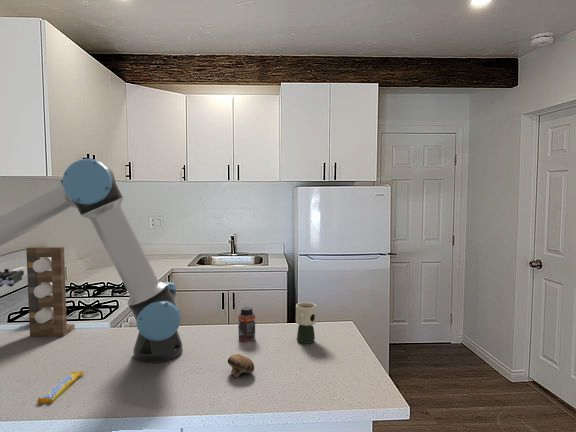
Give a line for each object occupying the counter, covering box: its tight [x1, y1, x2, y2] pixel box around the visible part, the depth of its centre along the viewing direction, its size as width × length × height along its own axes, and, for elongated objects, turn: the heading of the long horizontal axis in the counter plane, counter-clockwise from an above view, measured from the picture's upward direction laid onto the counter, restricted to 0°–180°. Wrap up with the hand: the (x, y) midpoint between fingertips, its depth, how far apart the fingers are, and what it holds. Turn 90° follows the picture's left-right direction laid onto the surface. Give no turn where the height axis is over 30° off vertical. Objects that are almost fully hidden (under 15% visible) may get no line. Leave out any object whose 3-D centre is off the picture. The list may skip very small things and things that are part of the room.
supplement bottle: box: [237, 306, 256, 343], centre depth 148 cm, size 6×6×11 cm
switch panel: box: [25, 246, 76, 338], centre depth 153 cm, size 9×12×32 cm
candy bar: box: [36, 370, 85, 405], centre depth 112 cm, size 17×4×2 cm, turn 179°
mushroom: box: [227, 353, 255, 379], centre depth 121 cm, size 8×8×6 cm
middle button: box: [34, 283, 52, 298], centre depth 150 cm, size 6×4×4 cm
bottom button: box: [35, 308, 53, 323], centre depth 150 cm, size 6×4×4 cm
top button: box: [33, 257, 52, 273], centre depth 149 cm, size 6×4×4 cm
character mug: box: [295, 302, 317, 344], centre depth 147 cm, size 11×7×13 cm, turn 162°
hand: (24, 270), depth 139 cm, fingers closed
